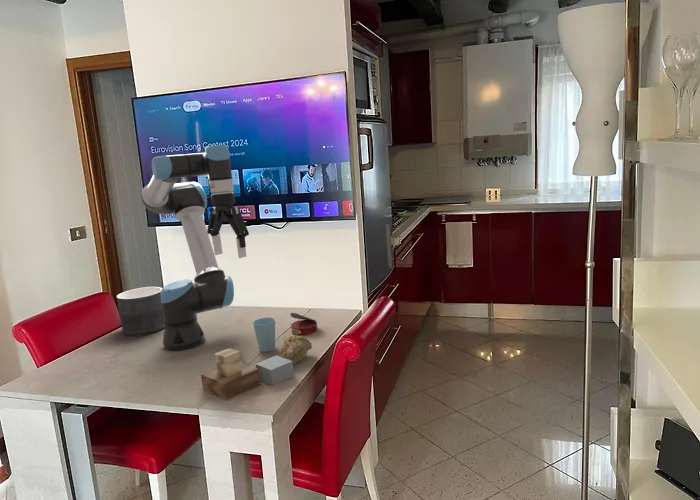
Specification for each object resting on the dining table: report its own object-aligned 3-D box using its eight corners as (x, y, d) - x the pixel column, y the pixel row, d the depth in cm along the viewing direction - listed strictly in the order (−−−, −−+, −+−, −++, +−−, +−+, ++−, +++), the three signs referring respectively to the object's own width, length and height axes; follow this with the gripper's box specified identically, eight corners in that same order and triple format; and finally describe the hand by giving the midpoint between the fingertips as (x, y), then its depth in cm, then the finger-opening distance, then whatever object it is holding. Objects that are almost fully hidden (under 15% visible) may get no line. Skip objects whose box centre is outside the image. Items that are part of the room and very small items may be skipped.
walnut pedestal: (203, 390, 159) (200, 374, 158) (236, 375, 167) (234, 360, 166) (226, 400, 151) (224, 383, 150) (260, 384, 159) (258, 368, 158)
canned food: (293, 342, 206) (286, 317, 208) (318, 335, 208) (311, 311, 211) (295, 338, 195) (288, 312, 198) (321, 330, 198) (314, 305, 200)
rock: (295, 378, 173) (289, 359, 167) (274, 370, 177) (267, 350, 171) (314, 352, 181) (309, 332, 174) (293, 344, 185) (287, 325, 178)
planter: (114, 332, 222) (108, 295, 219) (154, 319, 235) (148, 285, 232) (136, 339, 210) (129, 301, 207) (176, 325, 223) (170, 289, 220)
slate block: (257, 379, 164) (255, 363, 163) (278, 370, 169) (276, 355, 168) (272, 385, 158) (271, 370, 157) (293, 376, 164) (292, 361, 163)
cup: (281, 349, 186) (277, 321, 184) (259, 355, 183) (256, 326, 181) (275, 343, 193) (271, 316, 191) (254, 348, 190) (250, 320, 188)
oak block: (217, 372, 158) (214, 353, 157) (231, 366, 162) (229, 348, 160) (227, 376, 155) (224, 357, 153) (241, 370, 158) (239, 351, 157)
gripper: (191, 194, 181) (200, 255, 185) (235, 194, 164) (243, 261, 168) (210, 191, 187) (218, 251, 191) (254, 191, 170) (262, 256, 174)
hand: (230, 255), depth 180 cm, fingers open, 13 cm apart
